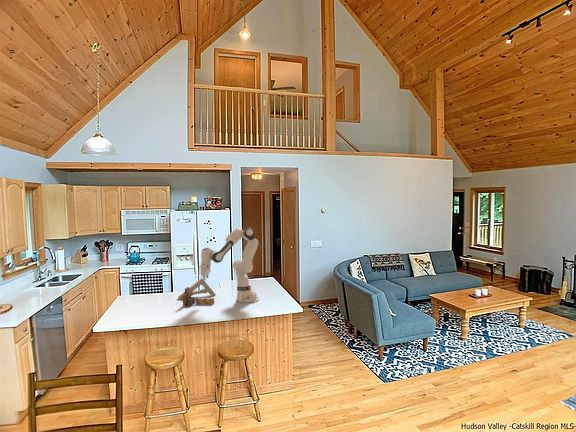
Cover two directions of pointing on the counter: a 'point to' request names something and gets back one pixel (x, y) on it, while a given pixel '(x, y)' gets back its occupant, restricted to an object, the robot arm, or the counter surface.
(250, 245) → the robot arm
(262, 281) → the counter surface
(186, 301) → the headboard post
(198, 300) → the rail
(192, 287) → the wall bracket
